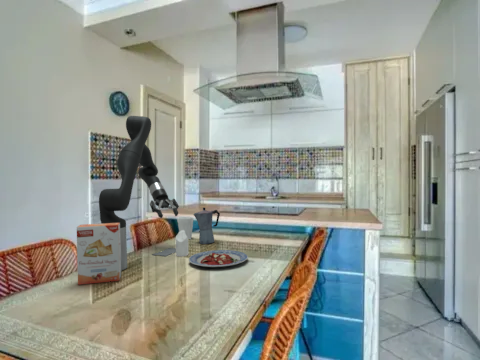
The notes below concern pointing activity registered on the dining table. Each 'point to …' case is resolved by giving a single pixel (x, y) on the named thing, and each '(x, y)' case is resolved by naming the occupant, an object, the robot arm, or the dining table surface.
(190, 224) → the foam cup
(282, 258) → the dining table surface
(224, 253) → the ceramic plate
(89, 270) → the cracker box
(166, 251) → the mat
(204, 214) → the moka pot
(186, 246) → the white peaked cylinder
